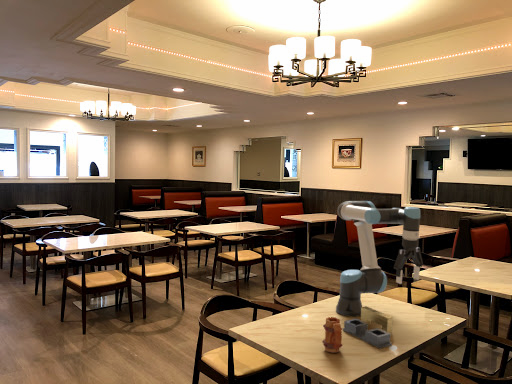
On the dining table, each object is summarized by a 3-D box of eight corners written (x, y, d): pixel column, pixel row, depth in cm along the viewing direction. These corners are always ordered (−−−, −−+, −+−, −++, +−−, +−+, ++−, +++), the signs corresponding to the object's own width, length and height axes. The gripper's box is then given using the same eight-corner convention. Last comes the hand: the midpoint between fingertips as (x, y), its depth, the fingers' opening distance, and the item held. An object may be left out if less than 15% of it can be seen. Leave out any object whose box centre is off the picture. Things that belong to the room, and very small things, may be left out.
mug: (320, 346, 189) (321, 313, 188) (337, 345, 190) (339, 313, 189) (328, 361, 174) (330, 326, 173) (347, 360, 175) (348, 326, 174)
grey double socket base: (342, 330, 208) (343, 320, 208) (354, 327, 212) (354, 317, 212) (379, 348, 188) (380, 338, 187) (391, 345, 192) (392, 334, 191)
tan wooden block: (360, 324, 217) (361, 307, 216) (365, 322, 219) (366, 306, 218) (386, 336, 202) (387, 318, 201) (391, 334, 204) (392, 317, 203)
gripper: (400, 242, 193) (397, 287, 194) (432, 238, 206) (429, 279, 208) (387, 239, 199) (384, 282, 201) (419, 235, 213) (416, 275, 215)
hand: (407, 281), depth 205 cm, fingers open, 13 cm apart
